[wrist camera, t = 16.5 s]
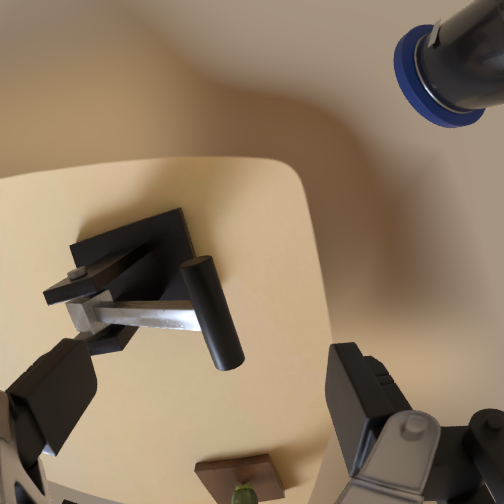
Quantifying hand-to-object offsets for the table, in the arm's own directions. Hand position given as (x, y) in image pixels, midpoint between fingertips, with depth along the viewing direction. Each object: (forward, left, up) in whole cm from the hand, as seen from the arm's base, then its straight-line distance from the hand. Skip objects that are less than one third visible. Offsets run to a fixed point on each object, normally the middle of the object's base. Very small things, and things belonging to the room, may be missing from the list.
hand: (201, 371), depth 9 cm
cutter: (+10, 0, -20) cm, 22 cm away
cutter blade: (+5, 0, -8) cm, 9 cm away
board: (+9, +32, -20) cm, 38 cm away
